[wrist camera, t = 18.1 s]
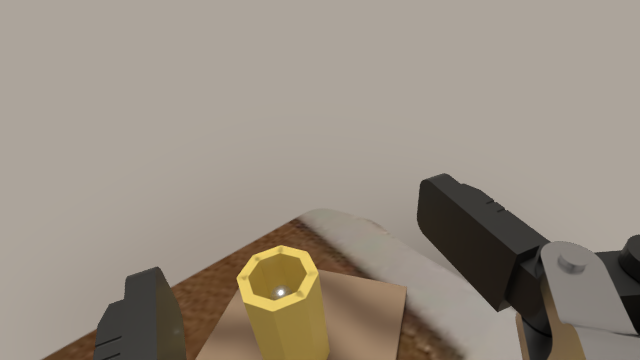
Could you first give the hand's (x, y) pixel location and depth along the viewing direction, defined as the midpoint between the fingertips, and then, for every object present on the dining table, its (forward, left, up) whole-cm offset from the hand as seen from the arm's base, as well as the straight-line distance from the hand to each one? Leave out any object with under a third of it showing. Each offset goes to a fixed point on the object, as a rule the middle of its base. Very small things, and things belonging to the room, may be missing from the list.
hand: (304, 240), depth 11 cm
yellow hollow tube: (+8, +7, -25) cm, 27 cm away
